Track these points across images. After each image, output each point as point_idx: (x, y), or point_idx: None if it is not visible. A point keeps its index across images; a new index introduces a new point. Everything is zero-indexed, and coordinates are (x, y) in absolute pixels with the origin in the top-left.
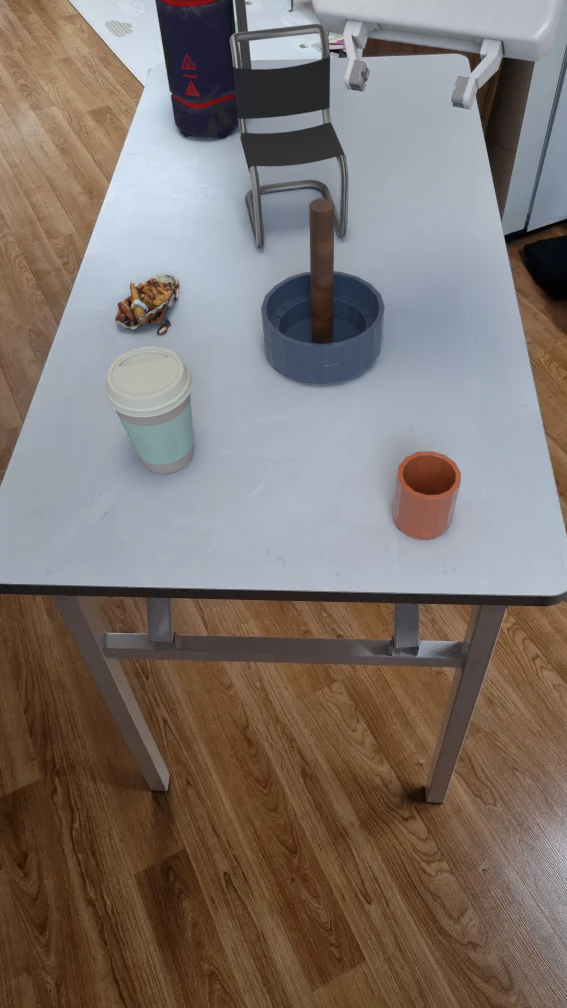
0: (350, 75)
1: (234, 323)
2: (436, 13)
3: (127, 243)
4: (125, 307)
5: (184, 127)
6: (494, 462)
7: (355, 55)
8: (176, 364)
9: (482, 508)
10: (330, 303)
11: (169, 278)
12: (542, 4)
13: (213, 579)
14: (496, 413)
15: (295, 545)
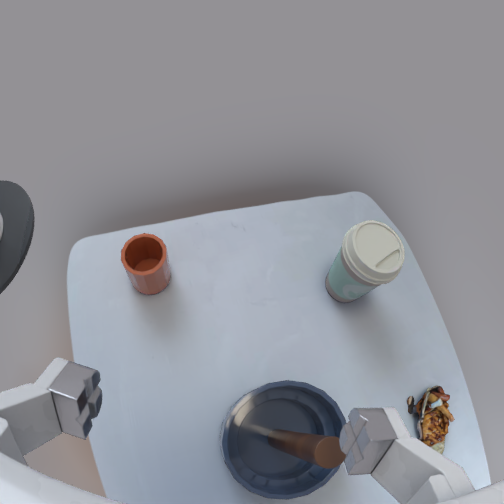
0: (384, 411)
1: None
2: None
3: (472, 476)
4: (443, 396)
5: None
6: (103, 335)
7: (403, 447)
8: (364, 259)
9: (110, 291)
10: (280, 438)
11: None
12: None
13: (268, 207)
14: (105, 389)
15: (228, 236)
